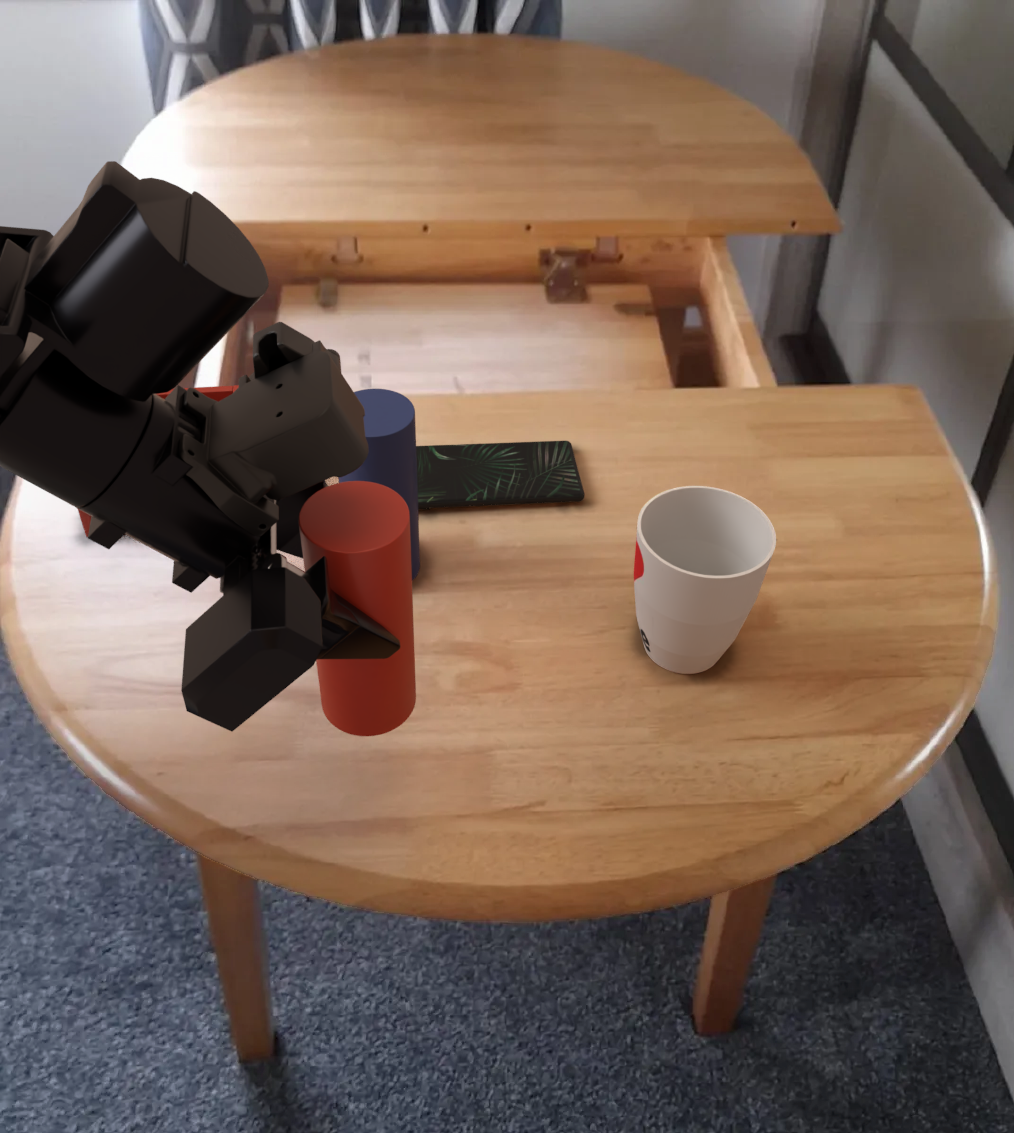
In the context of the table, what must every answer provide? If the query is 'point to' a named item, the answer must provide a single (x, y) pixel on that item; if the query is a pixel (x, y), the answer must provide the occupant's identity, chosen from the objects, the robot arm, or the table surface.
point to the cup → (697, 573)
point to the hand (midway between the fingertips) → (390, 611)
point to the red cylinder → (365, 600)
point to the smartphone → (497, 474)
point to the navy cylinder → (391, 453)
